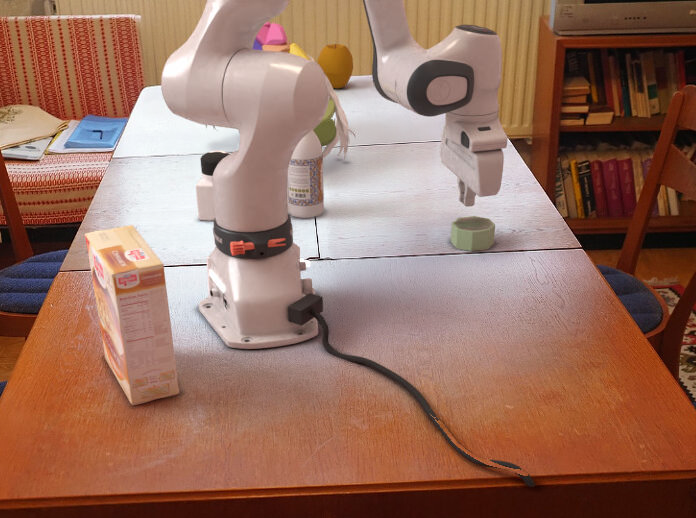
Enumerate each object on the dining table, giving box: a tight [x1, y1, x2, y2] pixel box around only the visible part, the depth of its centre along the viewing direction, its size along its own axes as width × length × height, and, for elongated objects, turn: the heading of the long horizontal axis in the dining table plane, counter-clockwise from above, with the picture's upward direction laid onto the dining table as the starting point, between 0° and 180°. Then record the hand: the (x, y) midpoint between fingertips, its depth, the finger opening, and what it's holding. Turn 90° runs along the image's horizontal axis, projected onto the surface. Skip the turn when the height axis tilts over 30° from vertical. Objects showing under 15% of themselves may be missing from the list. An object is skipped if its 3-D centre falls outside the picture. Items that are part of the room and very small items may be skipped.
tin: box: [450, 215, 496, 252], centre depth 171 cm, size 4×7×7 cm
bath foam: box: [287, 130, 325, 219], centre depth 182 cm, size 7×7×20 cm
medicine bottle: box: [195, 150, 231, 222], centre depth 185 cm, size 7×7×12 cm
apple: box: [316, 42, 354, 89], centre depth 262 cm, size 10×10×12 cm
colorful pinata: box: [205, 21, 356, 161], centre depth 214 cm, size 32×29×35 cm
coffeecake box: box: [84, 224, 180, 406], centre depth 132 cm, size 15×7×20 cm, turn 23°
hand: (466, 203), depth 172 cm, fingers closed
